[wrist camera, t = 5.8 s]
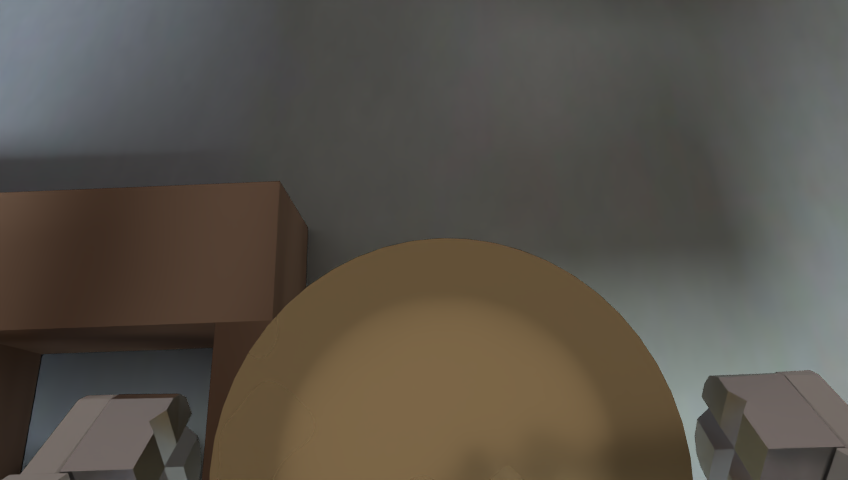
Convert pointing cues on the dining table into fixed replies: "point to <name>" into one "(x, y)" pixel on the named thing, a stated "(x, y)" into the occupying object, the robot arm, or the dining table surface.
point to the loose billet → (449, 378)
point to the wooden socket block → (141, 282)
